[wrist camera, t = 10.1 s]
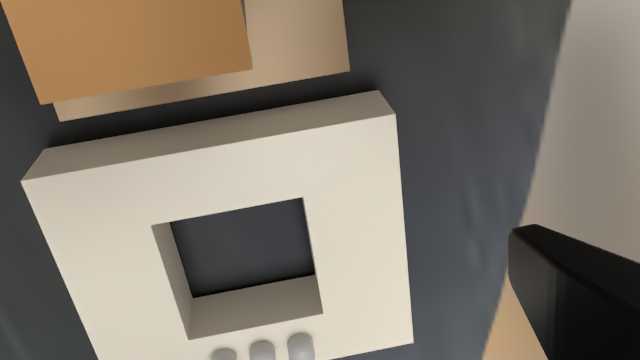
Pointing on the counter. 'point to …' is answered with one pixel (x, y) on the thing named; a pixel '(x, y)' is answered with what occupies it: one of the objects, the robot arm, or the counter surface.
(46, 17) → the plug
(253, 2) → the cork pad
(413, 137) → the counter surface
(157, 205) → the block
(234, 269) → the counter surface
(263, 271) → the counter surface
